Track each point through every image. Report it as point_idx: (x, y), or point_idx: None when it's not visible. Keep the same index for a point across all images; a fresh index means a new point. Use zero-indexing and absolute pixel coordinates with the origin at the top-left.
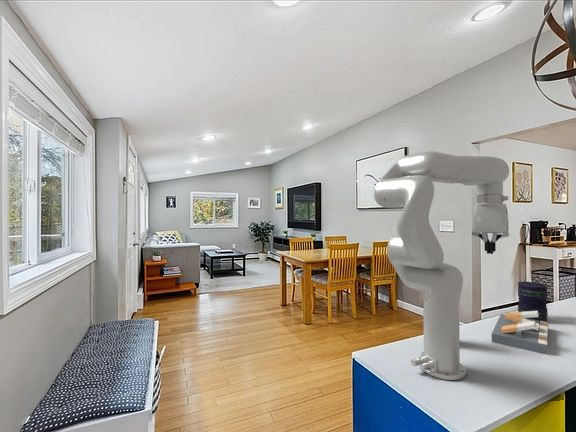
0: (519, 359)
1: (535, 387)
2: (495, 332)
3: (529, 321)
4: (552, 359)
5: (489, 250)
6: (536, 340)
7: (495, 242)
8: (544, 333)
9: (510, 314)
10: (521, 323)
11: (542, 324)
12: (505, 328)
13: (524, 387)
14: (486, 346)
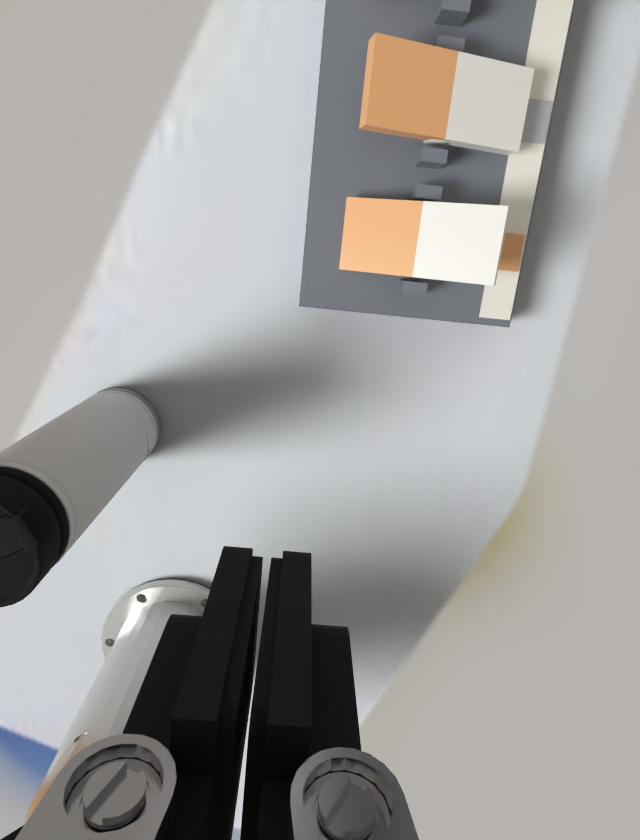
0: (393, 430)
1: (417, 601)
2: (315, 278)
3: (487, 89)
4: (503, 361)
5: (250, 683)
6: (477, 285)
7: (362, 775)
8: (531, 152)
9: (396, 65)
10: (439, 212)
11: None
12: (359, 257)
13: (390, 616)
14: (283, 369)
